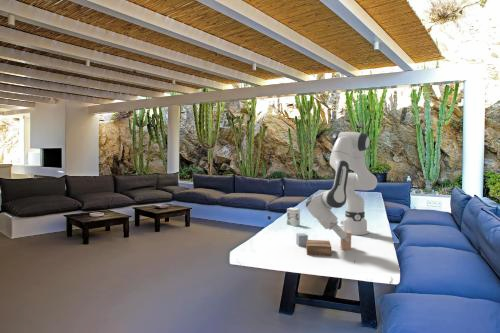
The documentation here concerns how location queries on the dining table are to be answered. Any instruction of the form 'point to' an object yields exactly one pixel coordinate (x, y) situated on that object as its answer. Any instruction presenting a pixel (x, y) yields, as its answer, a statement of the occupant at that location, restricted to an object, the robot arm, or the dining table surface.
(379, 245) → the dining table surface
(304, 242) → the slate grey block
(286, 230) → the dining table surface
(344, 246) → the terracotta block
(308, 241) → the walnut block
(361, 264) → the dining table surface
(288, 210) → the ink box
